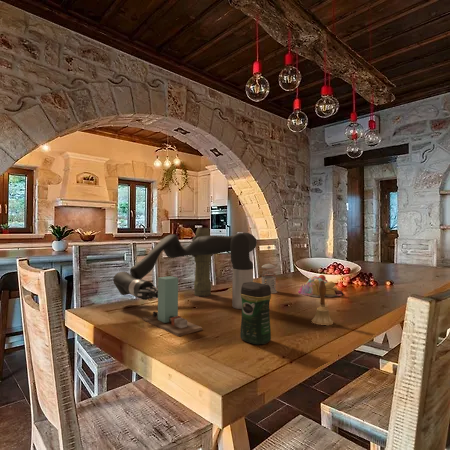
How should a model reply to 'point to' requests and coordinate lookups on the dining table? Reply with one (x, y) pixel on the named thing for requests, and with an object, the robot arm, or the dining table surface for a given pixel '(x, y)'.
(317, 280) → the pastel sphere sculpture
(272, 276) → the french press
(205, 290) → the thermos
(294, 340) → the dining table surface
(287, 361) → the dining table surface
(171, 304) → the sleeve
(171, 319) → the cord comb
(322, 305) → the hand bell
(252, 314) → the coffee jar
